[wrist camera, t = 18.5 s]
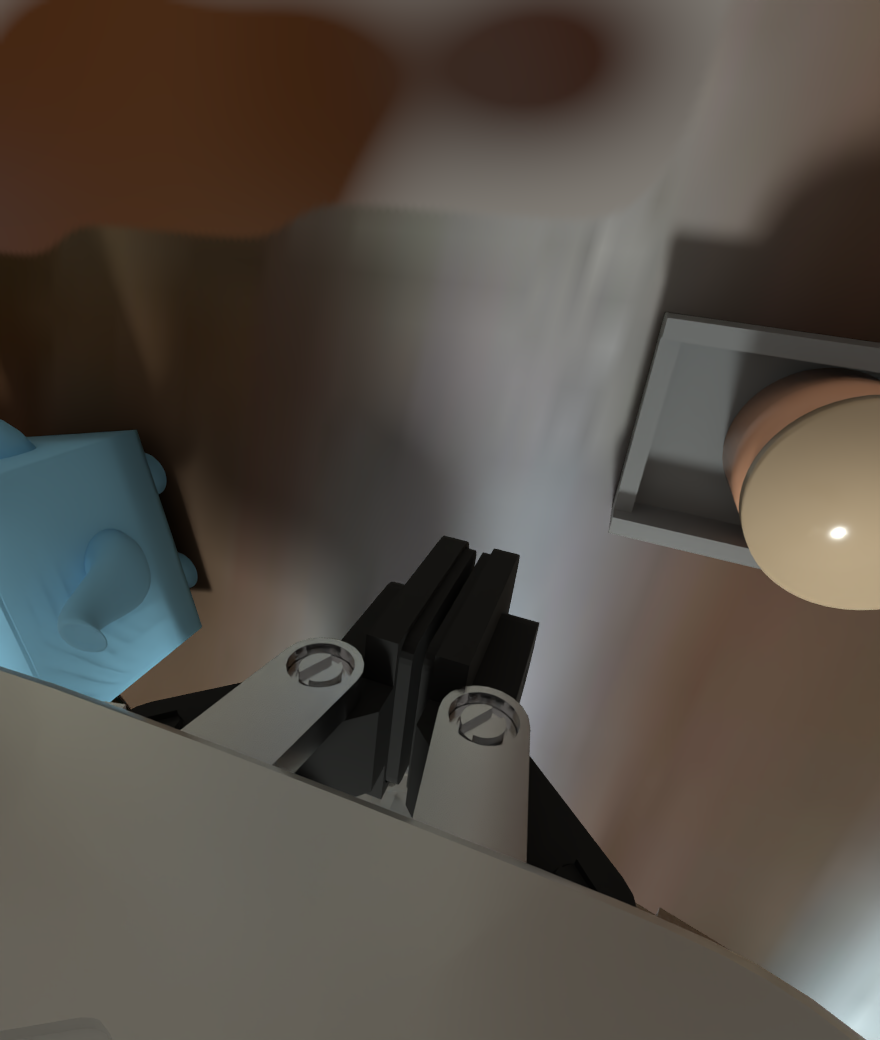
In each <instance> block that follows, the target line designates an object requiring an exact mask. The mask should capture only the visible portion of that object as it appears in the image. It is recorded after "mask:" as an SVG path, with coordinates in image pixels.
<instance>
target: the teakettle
mask: <svg viewBox="0 0 880 1040" xmlns="http://www.w3.org/2000/svg"><path fill="white" fill-rule="evenodd" d="M166 482H167V480H166V474H165V471H164V469H163V467H162V466H161V464H160V463H159V462H158V461H157V460H156V459H155V458H154V457H153V456H151V455H149V454H147V453H144V450H143V447H142V444H141V441H140V438H139V435H138V432H137V430H123V431H108V432H93V433H78V434H62V435H48V436H32V437H25V436H24V435H23V434H22V433H21V432H20V431H19V430H17V429H16V428H14V427H13V426H11V425H10V424H8V423H6V422H5V421H3V420H0V666H1V667H4V668H7V669H11V670H14V671H17V672H20V673H23V674H26V675H29V676H32V677H35V678H38V679H41V680H44V681H47V682H50V683H54V684H56V685H59V686H62V687H65V688H67V689H70V690H73V691H76V692H78V693H81V694H84V695H87V696H90V697H92V698H95V699H98V700H101V701H106V702H111V701H112V700H113V699H114V698H116V697H117V696H118V695H119V694H121V693H122V692H123V691H124V690H125V689H127V688H128V687H129V686H130V685H132V684H133V683H134V682H135V681H136V680H138V679H139V678H140V677H141V676H143V675H144V674H145V673H146V672H147V671H149V670H150V669H151V668H152V667H154V666H155V665H156V664H157V663H159V662H160V661H161V660H162V659H163V658H165V657H166V656H167V655H168V654H170V653H171V652H172V651H173V650H174V649H176V648H177V647H178V646H179V645H181V644H182V643H183V642H184V641H186V640H187V639H188V638H189V637H190V636H192V635H193V634H194V633H195V632H197V631H198V630H199V629H200V628H201V627H202V625H201V622H200V619H199V616H198V613H197V610H196V607H195V604H194V601H193V598H192V595H191V592H190V589H189V588H191V587H193V586H194V585H195V584H196V582H197V579H198V576H197V571H196V568H195V566H194V564H193V563H192V562H191V560H190V559H189V558H188V557H186V556H185V555H183V554H181V553H179V552H177V549H176V546H175V543H174V540H173V537H172V534H171V531H170V528H169V525H168V522H167V519H166V516H165V513H164V510H163V507H162V504H161V501H160V498H159V495H158V494H160V493H162V492H163V491H164V489H165V487H166Z"/></svg>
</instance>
